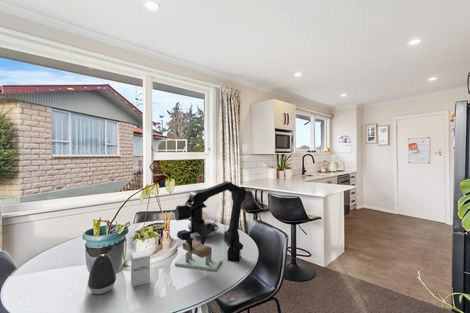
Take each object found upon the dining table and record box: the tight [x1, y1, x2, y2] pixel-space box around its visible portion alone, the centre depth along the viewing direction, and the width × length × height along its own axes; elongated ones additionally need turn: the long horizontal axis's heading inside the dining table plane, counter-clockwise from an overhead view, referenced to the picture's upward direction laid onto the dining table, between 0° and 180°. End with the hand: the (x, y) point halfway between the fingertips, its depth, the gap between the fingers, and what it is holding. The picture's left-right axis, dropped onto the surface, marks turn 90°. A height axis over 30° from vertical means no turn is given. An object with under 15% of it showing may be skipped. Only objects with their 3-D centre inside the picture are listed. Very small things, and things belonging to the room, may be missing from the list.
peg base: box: [174, 251, 222, 272], centre depth 122 cm, size 22×10×6 cm, turn 77°
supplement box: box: [130, 249, 151, 288], centre depth 105 cm, size 7×7×13 cm
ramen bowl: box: [186, 219, 221, 237], centre depth 163 cm, size 25×23×8 cm
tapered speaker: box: [87, 253, 117, 295], centre depth 98 cm, size 10×10×15 cm
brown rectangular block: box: [182, 239, 213, 258], centre depth 115 cm, size 15×6×3 cm, turn 48°
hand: (196, 248), depth 115 cm, fingers closed on brown rectangular block, 6 cm apart
